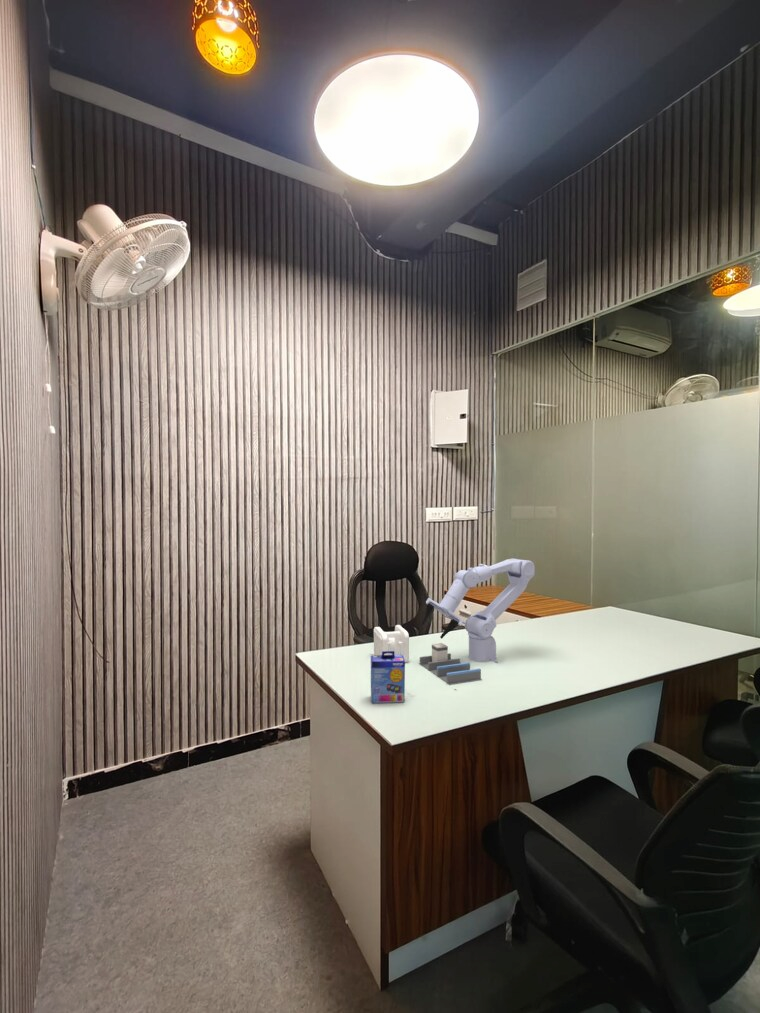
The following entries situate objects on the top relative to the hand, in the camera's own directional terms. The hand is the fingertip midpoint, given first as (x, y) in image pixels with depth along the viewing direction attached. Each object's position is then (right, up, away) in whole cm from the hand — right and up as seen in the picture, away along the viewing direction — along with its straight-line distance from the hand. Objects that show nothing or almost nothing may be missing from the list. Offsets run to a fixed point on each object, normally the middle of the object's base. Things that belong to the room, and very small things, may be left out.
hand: (431, 631), depth 159 cm
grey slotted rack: (+5, -13, -6) cm, 15 cm away
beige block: (+3, -12, 0) cm, 12 cm away
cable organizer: (-14, -13, +8) cm, 21 cm away
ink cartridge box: (-16, -13, -26) cm, 33 cm away
